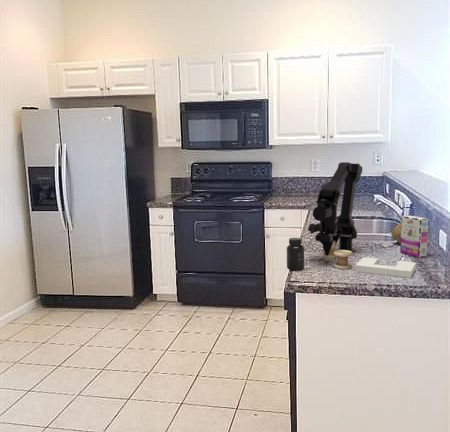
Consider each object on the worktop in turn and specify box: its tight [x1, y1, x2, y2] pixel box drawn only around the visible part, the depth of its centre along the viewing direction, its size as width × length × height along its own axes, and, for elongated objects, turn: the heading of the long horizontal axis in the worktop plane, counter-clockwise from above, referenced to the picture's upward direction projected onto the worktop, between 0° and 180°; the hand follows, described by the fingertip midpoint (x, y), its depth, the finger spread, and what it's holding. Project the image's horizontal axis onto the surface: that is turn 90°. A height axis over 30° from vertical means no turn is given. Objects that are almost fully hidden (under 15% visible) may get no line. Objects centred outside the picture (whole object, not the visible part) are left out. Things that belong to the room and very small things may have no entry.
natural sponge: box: [391, 223, 401, 245], centre depth 224 cm, size 9×9×10 cm
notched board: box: [354, 257, 417, 279], centre depth 184 cm, size 13×20×2 cm, turn 61°
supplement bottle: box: [286, 237, 305, 272], centre depth 188 cm, size 7×7×12 cm
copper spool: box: [322, 241, 337, 262], centre depth 200 cm, size 5×5×8 cm
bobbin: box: [333, 249, 353, 270], centre depth 190 cm, size 7×7×6 cm
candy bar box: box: [399, 214, 430, 259], centre depth 205 cm, size 11×5×16 cm, turn 23°
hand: (329, 253), depth 200 cm, fingers open, 6 cm apart
